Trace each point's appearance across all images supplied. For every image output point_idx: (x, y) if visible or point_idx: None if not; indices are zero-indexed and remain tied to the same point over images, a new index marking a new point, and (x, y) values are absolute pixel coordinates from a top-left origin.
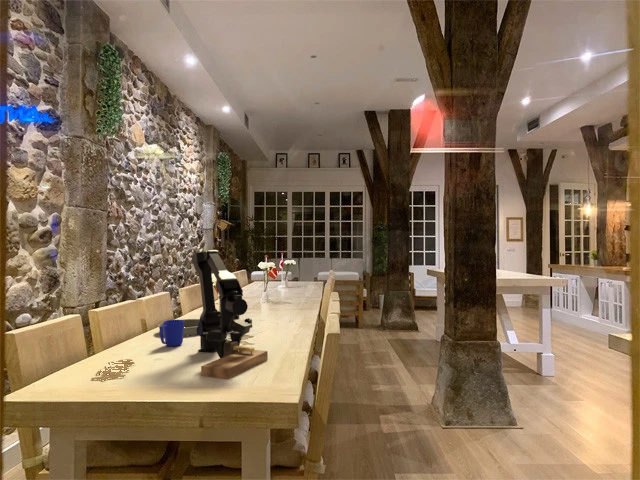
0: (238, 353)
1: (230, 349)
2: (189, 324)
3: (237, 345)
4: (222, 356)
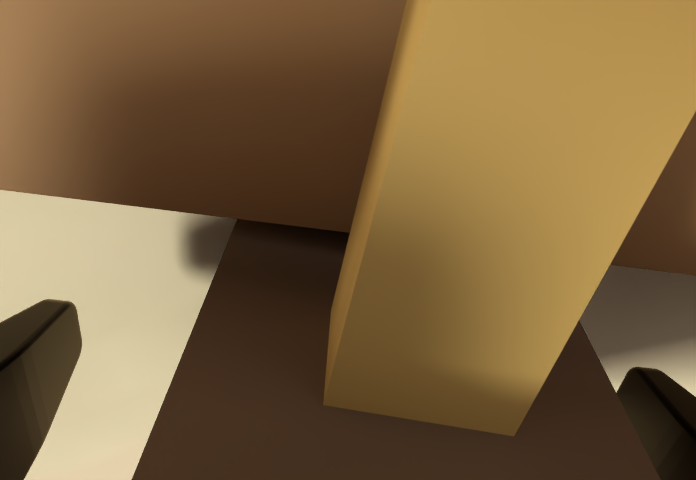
0: None
1: (601, 408)
2: None
3: (223, 378)
4: (691, 394)
